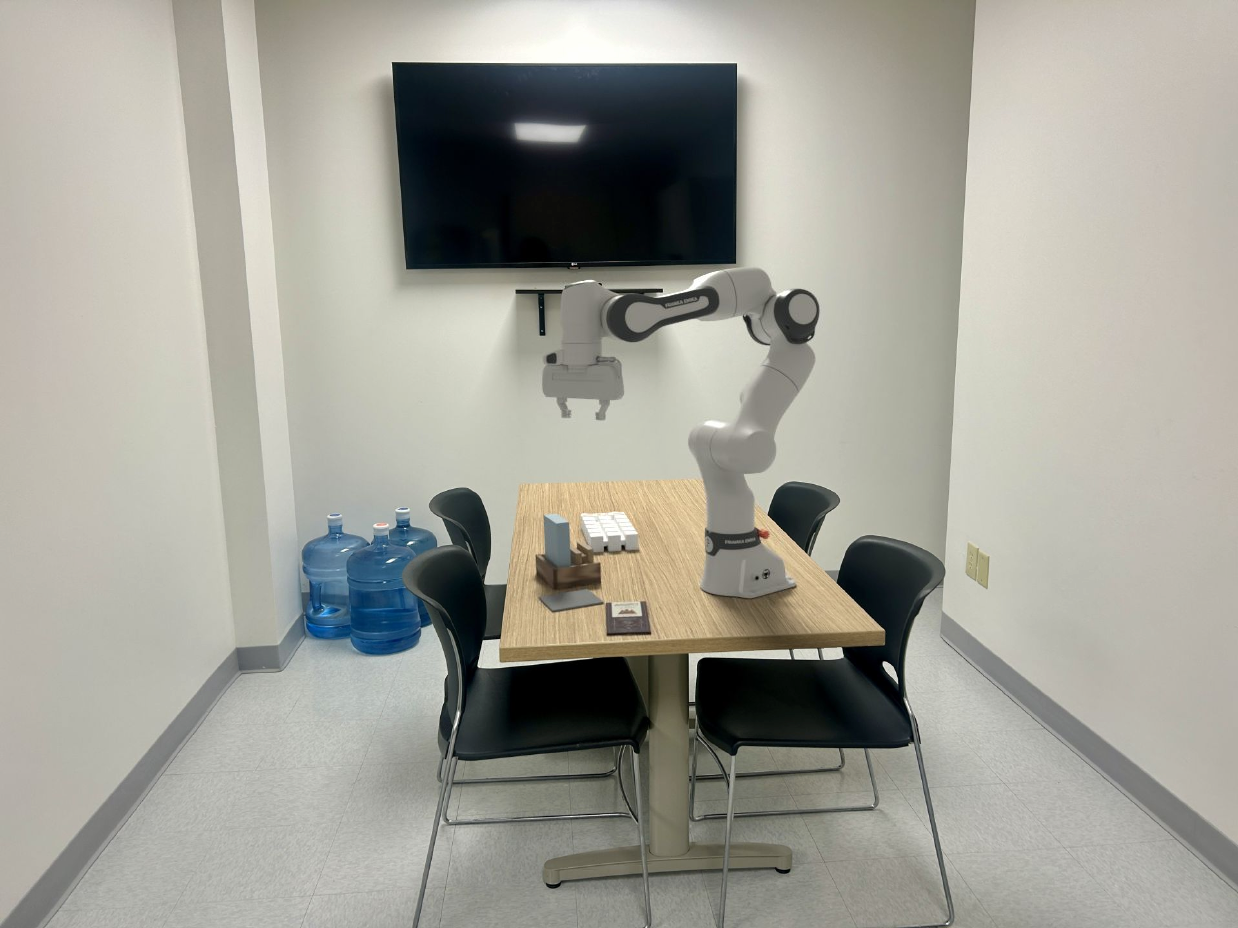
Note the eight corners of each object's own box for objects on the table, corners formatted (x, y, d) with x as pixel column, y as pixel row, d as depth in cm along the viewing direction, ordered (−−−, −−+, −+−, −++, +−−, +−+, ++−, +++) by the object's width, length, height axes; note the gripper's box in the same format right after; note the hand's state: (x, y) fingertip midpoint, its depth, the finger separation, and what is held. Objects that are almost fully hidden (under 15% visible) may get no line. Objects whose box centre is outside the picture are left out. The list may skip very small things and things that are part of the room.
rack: (580, 567, 211) (580, 548, 210) (601, 582, 199) (600, 562, 198) (536, 573, 207) (535, 554, 206) (554, 589, 194) (553, 569, 193)
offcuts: (579, 563, 209) (578, 539, 208) (594, 574, 200) (593, 549, 199) (563, 566, 207) (562, 541, 206) (577, 577, 198) (576, 551, 197)
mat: (587, 590, 193) (587, 588, 193) (603, 603, 184) (603, 601, 184) (538, 598, 188) (538, 596, 188) (552, 611, 179) (552, 610, 179)
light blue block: (557, 567, 207) (555, 513, 204) (571, 578, 198) (569, 521, 195) (545, 569, 205) (543, 514, 203) (558, 580, 196) (556, 523, 194)
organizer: (590, 536, 224) (578, 508, 258) (591, 553, 225) (578, 523, 259) (638, 533, 226) (619, 506, 260) (638, 550, 226) (619, 520, 261)
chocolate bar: (606, 633, 165) (605, 602, 183) (606, 637, 166) (605, 606, 183) (651, 631, 166) (646, 601, 183) (651, 635, 166) (646, 605, 183)
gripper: (629, 356, 177) (630, 420, 179) (554, 355, 188) (556, 415, 190) (612, 357, 171) (613, 423, 174) (537, 356, 183) (539, 418, 185)
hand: (583, 419), depth 182 cm, fingers open, 8 cm apart
